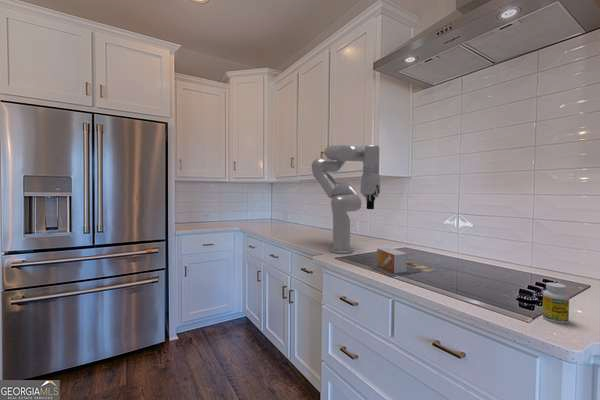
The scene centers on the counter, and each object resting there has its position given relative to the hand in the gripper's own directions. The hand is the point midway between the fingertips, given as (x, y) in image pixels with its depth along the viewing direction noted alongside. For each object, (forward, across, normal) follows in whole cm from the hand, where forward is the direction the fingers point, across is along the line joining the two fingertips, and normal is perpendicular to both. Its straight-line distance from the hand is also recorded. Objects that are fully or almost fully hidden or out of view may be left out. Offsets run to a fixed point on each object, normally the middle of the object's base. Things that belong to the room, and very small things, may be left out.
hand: (370, 208), depth 142 cm
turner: (+25, +19, +12) cm, 34 cm away
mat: (+25, +18, 0) cm, 31 cm away
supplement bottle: (+24, +73, +7) cm, 77 cm away
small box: (+21, +10, 0) cm, 23 cm away
